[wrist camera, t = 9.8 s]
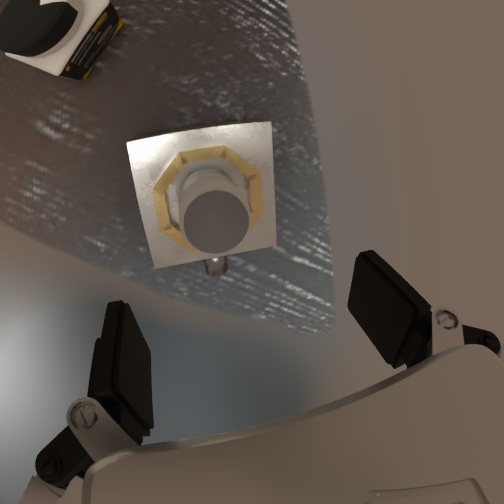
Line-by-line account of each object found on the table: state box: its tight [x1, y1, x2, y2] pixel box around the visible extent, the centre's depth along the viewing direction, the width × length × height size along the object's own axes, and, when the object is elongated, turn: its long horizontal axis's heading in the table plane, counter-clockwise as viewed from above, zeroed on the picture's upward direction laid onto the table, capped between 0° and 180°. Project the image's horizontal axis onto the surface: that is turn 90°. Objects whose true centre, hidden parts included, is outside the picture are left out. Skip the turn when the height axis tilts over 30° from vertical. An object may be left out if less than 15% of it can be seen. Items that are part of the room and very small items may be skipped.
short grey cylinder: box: [178, 169, 251, 254], centre depth 21 cm, size 5×5×6 cm
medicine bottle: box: [0, 0, 123, 81], centre depth 12 cm, size 7×7×12 cm
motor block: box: [127, 119, 277, 276], centre depth 26 cm, size 15×12×6 cm
